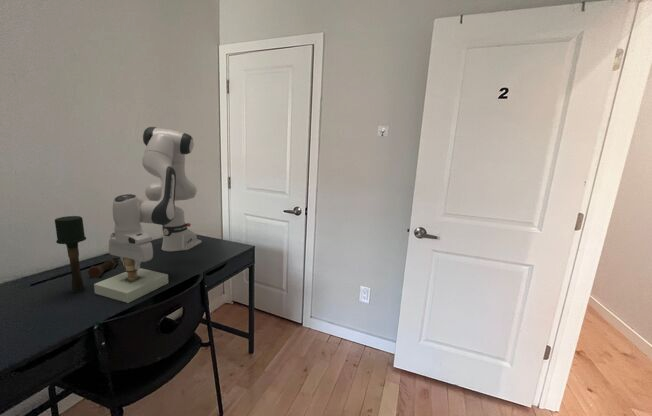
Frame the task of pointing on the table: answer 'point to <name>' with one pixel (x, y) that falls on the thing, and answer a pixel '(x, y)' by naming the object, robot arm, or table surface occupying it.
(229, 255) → the table surface
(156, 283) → the board
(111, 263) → the bolt
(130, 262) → the peg
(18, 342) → the table surface
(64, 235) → the grenade
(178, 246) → the robot arm
